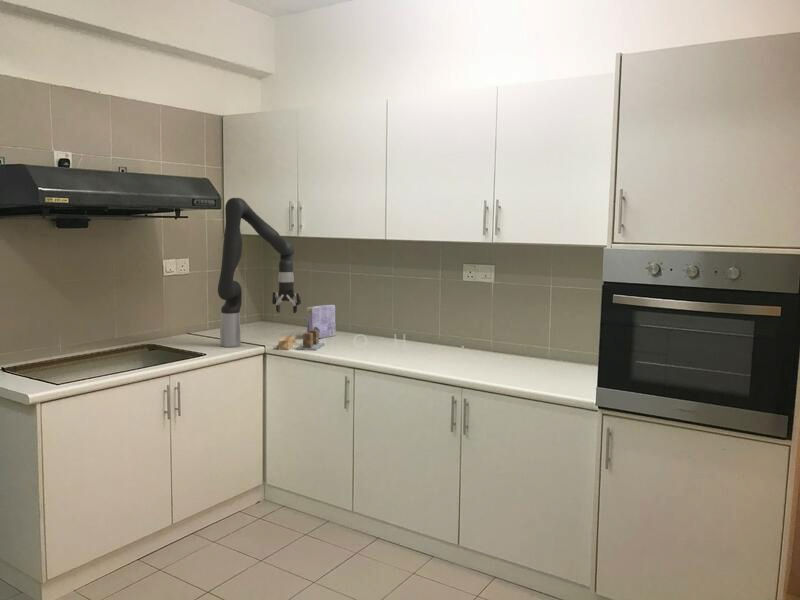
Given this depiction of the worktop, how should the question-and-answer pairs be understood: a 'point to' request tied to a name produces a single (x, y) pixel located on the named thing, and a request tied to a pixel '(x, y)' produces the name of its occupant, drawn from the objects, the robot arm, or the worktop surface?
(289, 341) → the oak crossbeam
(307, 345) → the posts
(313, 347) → the blueprint plate
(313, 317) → the cake pan box
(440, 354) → the worktop surface
